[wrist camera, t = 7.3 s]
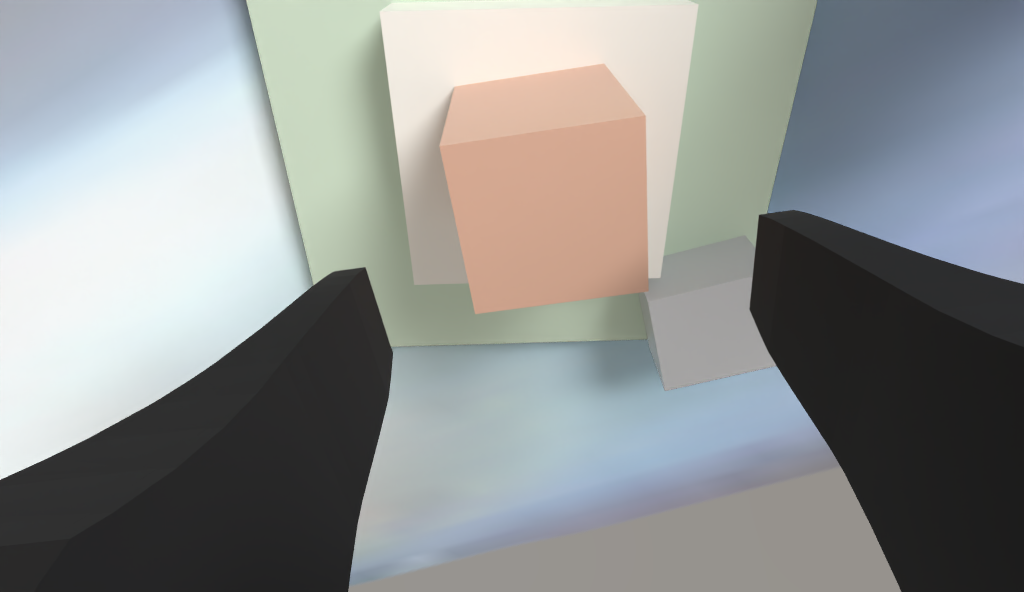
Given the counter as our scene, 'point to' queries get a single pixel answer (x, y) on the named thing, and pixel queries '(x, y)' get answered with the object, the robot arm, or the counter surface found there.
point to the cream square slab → (519, 52)
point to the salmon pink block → (548, 188)
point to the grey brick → (704, 315)
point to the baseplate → (376, 175)
